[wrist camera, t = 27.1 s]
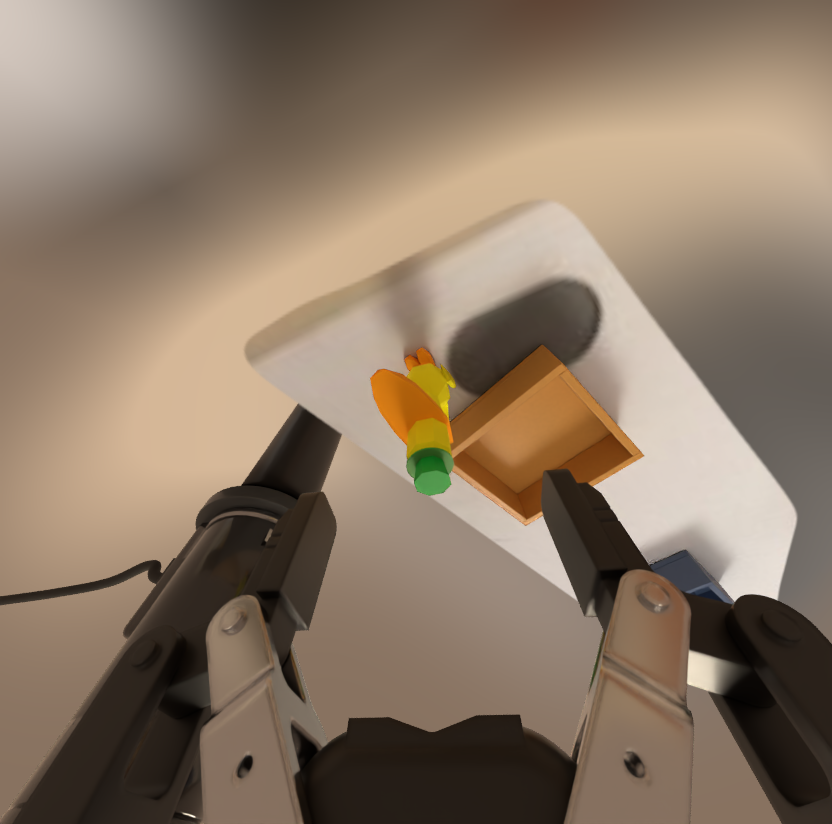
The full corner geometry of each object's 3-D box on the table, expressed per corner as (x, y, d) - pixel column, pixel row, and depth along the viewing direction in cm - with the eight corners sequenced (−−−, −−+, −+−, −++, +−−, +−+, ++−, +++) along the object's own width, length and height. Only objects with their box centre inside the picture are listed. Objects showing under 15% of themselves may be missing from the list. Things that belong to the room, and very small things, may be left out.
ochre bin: (436, 433, 26) (438, 461, 23) (541, 343, 22) (562, 362, 19) (514, 495, 30) (525, 526, 27) (617, 428, 26) (644, 456, 22)
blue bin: (606, 584, 38) (622, 616, 34) (685, 549, 34) (711, 581, 31) (642, 612, 41) (661, 643, 38) (718, 583, 37) (745, 615, 34)
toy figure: (372, 338, 22) (330, 437, 11) (412, 308, 21) (405, 387, 10) (426, 404, 25) (432, 531, 14) (464, 380, 23) (500, 500, 13)
